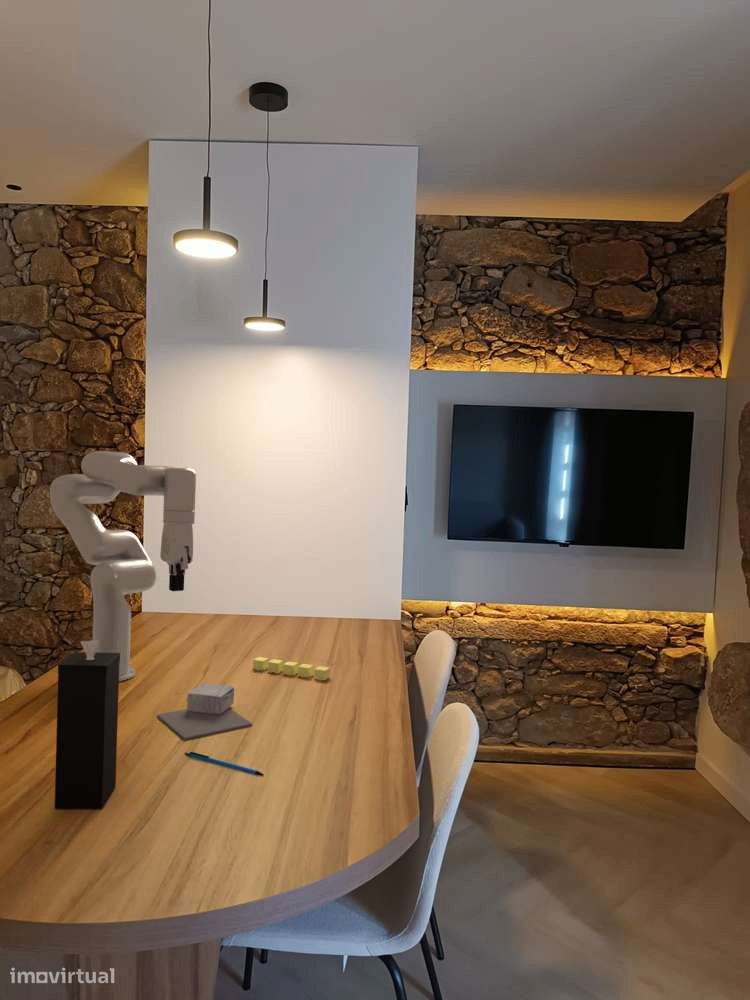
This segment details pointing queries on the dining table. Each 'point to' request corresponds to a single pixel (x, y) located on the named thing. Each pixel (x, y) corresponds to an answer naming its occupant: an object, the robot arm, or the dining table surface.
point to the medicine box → (210, 698)
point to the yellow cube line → (291, 668)
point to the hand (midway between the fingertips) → (176, 590)
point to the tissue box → (86, 728)
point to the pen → (223, 763)
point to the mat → (202, 722)
